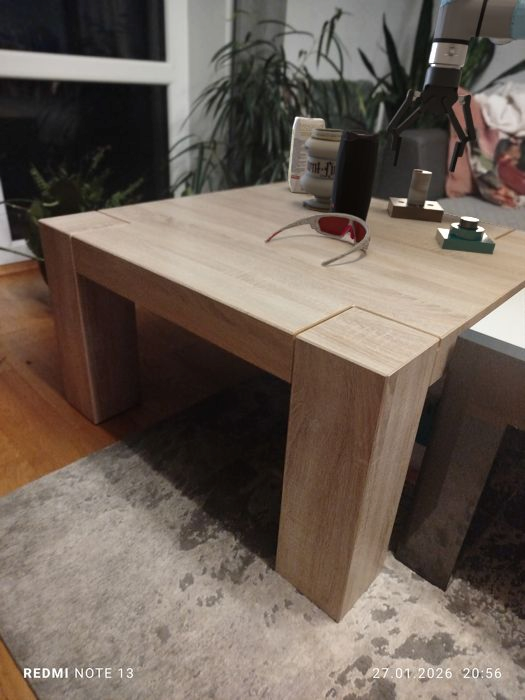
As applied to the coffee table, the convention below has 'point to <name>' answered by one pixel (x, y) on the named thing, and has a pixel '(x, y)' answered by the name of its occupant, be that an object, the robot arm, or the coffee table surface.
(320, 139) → the apothecary jar
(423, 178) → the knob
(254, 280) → the coffee table surface
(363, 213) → the portable speaker
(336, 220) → the sunglasses
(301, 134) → the white carton
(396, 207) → the brown block with holes
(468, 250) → the green stepped pedestal
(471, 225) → the grey short cylinder
